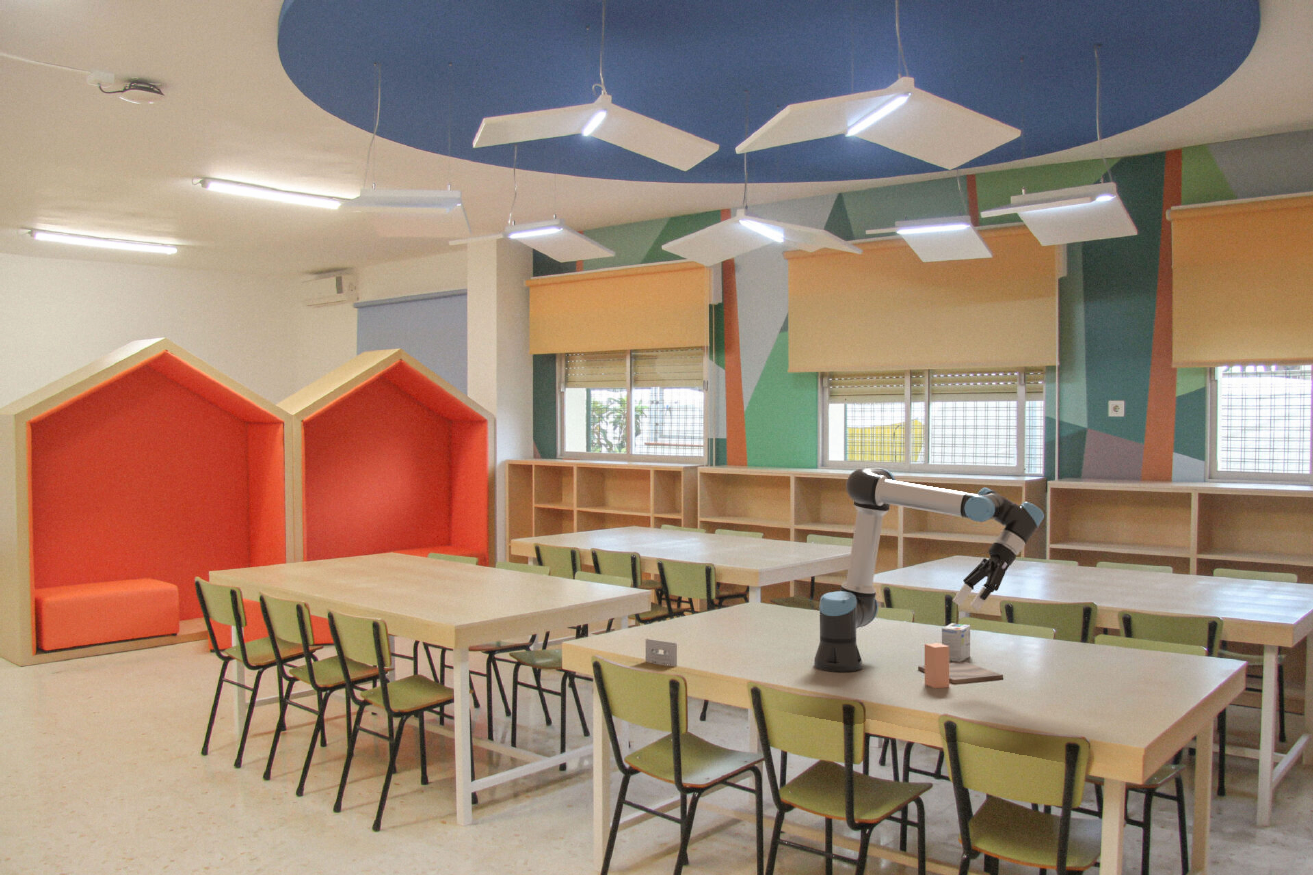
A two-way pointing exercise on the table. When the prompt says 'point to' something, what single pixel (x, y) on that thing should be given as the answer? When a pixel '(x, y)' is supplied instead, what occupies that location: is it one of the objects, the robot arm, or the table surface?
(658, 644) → the cassette
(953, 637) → the light bulb box
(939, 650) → the terracotta block
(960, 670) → the walnut board
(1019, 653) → the table surface
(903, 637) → the table surface
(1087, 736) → the table surface
